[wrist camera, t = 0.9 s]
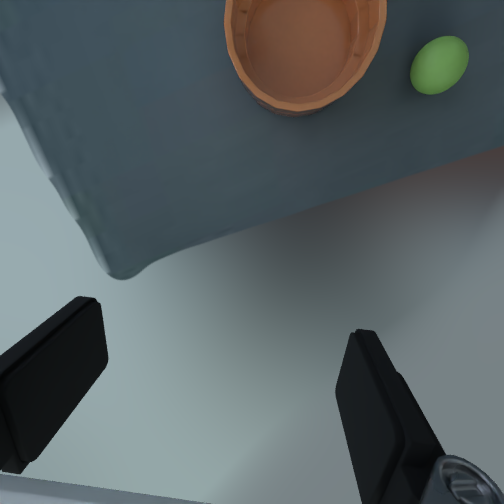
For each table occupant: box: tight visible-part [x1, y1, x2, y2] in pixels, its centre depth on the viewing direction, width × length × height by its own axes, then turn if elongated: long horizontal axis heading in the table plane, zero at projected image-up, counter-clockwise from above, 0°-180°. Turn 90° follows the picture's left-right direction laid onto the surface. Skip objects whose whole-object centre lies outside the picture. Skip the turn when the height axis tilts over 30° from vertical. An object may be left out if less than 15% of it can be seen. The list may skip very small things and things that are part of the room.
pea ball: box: [410, 36, 469, 94], centre depth 26 cm, size 5×5×5 cm
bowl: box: [224, 0, 387, 117], centre depth 25 cm, size 13×13×6 cm
